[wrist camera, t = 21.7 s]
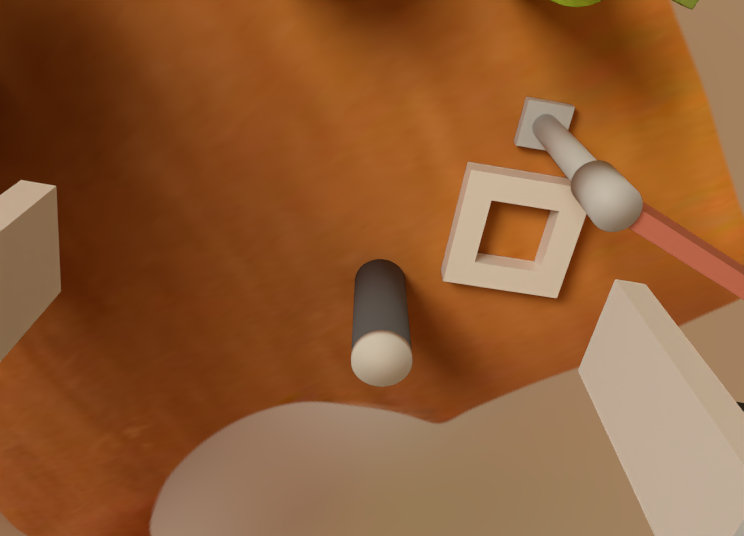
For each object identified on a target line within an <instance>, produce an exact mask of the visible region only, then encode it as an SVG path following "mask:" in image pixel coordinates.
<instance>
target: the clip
mask: <svg viewBox="0 0 744 536" xmlns="http://www.w3.org/2000/svg"><path fill="white" fill-rule="evenodd" d="M571 192H572V194H573V196H574V198H575V199H576V200H577V202H578V203H579V204H580V205H581V207H582V208H583V209H584V211H585V212H586V213H587V215H588V216H589V217H590V219H591V220H592V221H593V223H594V224H595V225H596V226H597V227H598V228H599V229H601V230H604V231H607V232H617V231H621V230H624V229H626V228H630V229H631V230H633V231H634V232H636V233H638V234H639V235H641V236H642V237H644V238H646V239H647V240H649V241H650V242H652V243H654V244H655V245H657V246H658V247H660V248H662V249H663V250H665V251H666V252H668V253H670V254H671V255H673V256H674V257H676V258H678V259H679V260H681V261H682V262H684V263H686V264H687V265H689V266H690V267H692V268H694V269H695V270H697V271H698V272H700V273H702V274H703V275H705V276H706V277H708V278H710V279H711V280H713V281H714V282H716V283H718V284H719V285H721V286H722V287H724V288H726V289H727V290H729V291H730V292H732V293H734V294H735V295H737V296H738V297H740V298H742V299H743V300H744V266H742V265H741V264H739V263H738V262H736V261H734V260H733V259H731V258H730V257H728V256H727V255H725V254H724V253H722V252H720V251H719V250H717V249H716V248H714V247H713V246H711V245H710V244H708V243H706V242H705V241H703V240H702V239H700V238H699V237H697V236H695V235H694V234H692V233H691V232H689V231H688V230H686V229H685V228H683V227H681V226H680V225H678V224H677V223H675V222H674V221H672V220H671V219H669V218H667V217H666V216H664V215H663V214H661V213H660V212H658V211H657V210H655V209H653V208H652V207H650V206H649V205H647V204H646V203H644V202H643V201H642V197H641V195H640V193H639V192H638V191H637V190H636V189H635V188H634V187H633V186H632V185H631V184H630V183H629V182H628V181H627V180H626V179H625V178H624V177H623V176H622V175H621V174H620V173H619V172H618V171H617V170H616V169H615V168H614V167H613V166H612V165H611V164H609V163H608V162H605V161H600V160H596V161H591V162H588V163H586V164H584V165H582V166H581V167H580V168H579V169H578V170H577V171H576V172H575V173H574V175H573V177H572V180H571Z"/></svg>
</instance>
